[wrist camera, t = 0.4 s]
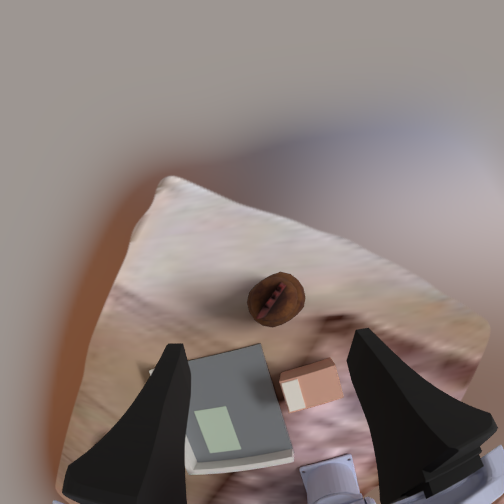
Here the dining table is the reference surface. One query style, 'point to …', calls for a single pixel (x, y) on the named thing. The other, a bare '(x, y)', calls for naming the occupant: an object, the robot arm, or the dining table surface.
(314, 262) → the dining table surface
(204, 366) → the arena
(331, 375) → the terracotta block
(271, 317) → the wooden figurine
